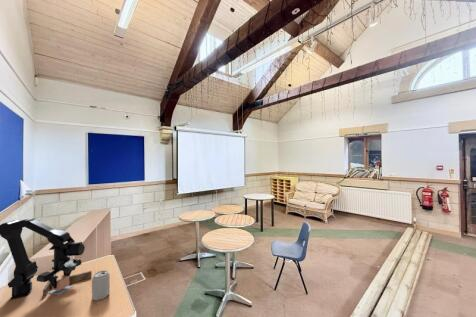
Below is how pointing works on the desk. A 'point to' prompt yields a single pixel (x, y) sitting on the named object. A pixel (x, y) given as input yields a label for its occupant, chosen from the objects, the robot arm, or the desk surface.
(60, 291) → the pad
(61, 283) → the cube
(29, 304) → the desk surface
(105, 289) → the can
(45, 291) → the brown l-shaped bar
